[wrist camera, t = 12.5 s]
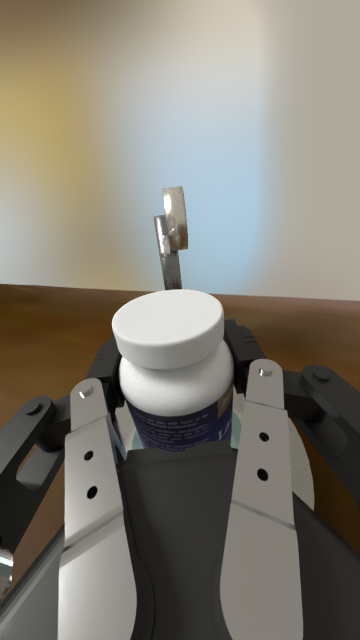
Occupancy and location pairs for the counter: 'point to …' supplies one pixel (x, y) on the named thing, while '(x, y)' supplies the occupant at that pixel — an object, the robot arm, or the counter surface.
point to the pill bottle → (175, 368)
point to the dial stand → (172, 235)
